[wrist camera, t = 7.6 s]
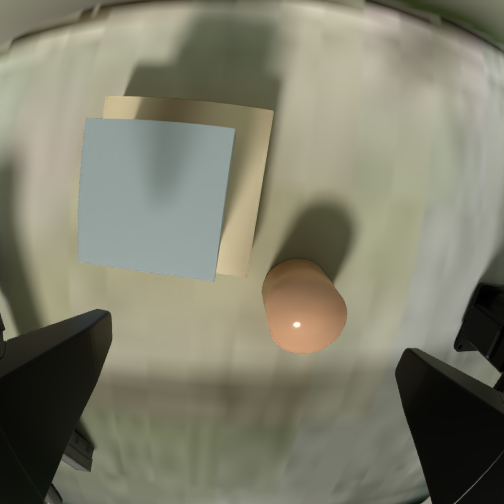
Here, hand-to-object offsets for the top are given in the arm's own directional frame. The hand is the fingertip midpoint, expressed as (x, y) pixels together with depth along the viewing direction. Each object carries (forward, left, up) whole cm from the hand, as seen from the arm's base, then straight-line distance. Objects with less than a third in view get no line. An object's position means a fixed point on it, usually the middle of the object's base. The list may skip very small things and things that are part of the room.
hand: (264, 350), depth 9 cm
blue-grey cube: (+4, -3, -9) cm, 11 cm away
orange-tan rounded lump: (-4, +3, -12) cm, 12 cm away
